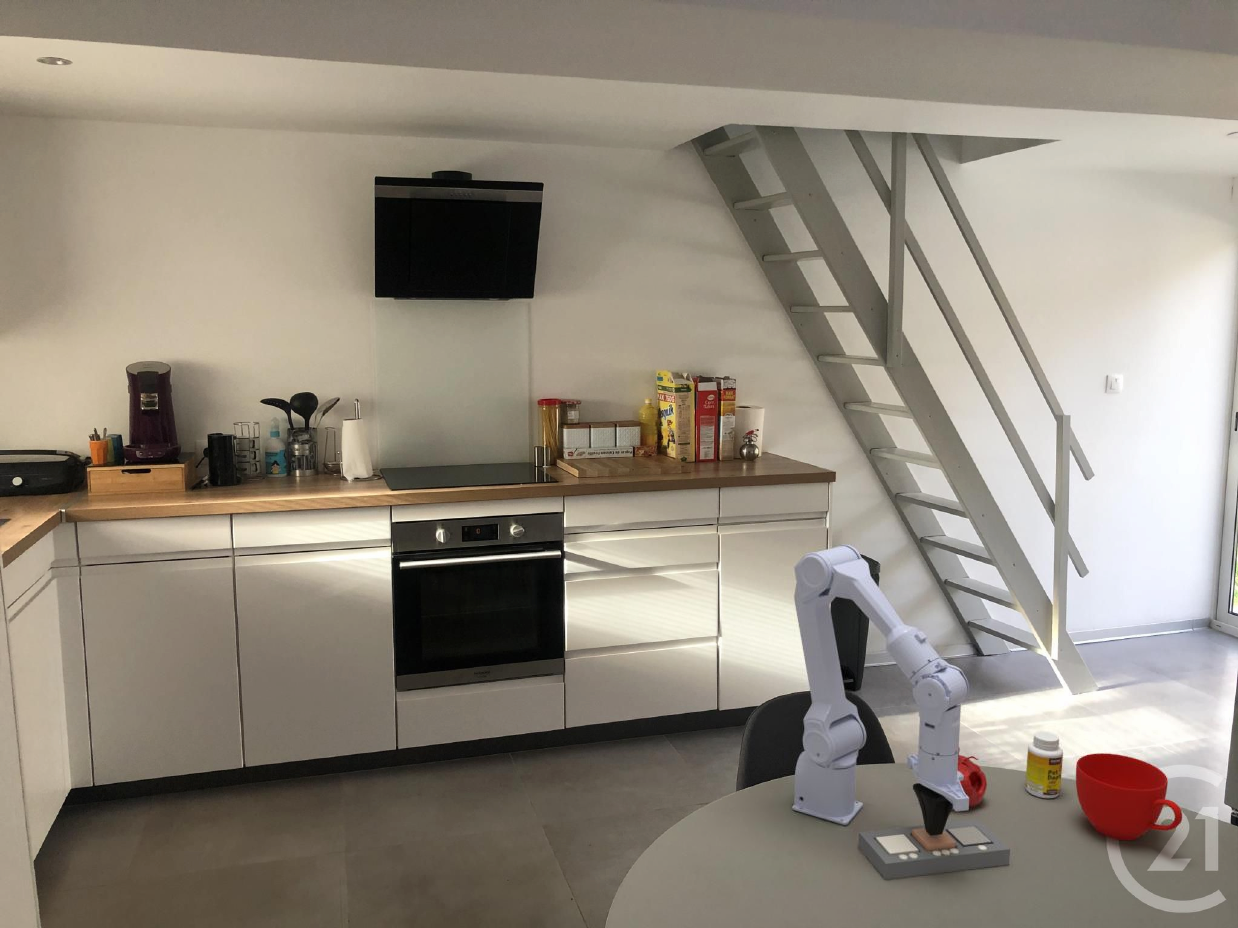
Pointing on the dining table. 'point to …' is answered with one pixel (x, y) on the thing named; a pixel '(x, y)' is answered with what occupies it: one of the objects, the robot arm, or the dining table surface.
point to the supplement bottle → (1044, 765)
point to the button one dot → (969, 836)
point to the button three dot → (933, 840)
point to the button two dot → (896, 845)
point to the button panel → (933, 853)
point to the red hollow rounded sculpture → (972, 779)
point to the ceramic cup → (1122, 795)
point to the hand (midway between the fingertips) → (934, 832)
